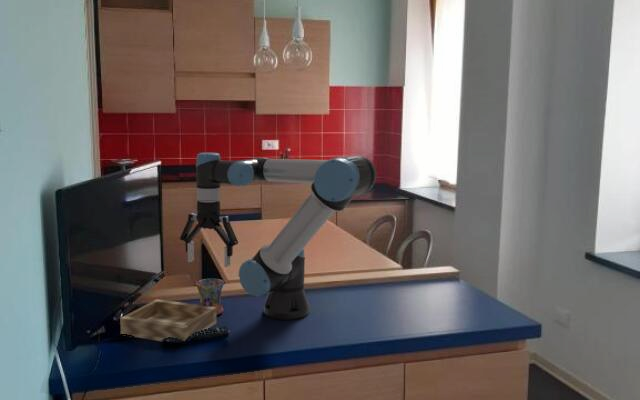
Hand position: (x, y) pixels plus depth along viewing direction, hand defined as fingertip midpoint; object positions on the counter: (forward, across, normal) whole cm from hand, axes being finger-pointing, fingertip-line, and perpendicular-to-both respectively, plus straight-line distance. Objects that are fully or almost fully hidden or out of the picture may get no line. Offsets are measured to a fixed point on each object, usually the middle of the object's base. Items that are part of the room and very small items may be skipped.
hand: (208, 263), depth 200 cm
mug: (+17, 0, 0) cm, 17 cm away
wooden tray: (+17, +4, +18) cm, 25 cm away
